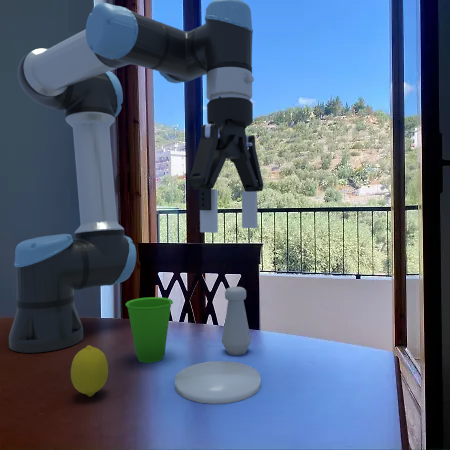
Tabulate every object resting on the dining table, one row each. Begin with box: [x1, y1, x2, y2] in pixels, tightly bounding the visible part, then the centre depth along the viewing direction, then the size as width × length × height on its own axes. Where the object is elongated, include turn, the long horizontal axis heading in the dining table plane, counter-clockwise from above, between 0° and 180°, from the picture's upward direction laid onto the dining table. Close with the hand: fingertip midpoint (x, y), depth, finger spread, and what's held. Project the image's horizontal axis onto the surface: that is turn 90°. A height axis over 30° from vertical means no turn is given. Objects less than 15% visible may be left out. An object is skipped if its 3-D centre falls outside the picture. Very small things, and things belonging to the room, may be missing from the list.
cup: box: [125, 296, 174, 364], centre depth 81 cm, size 9×9×11 cm
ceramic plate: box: [174, 360, 262, 405], centre depth 69 cm, size 14×14×1 cm
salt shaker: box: [221, 286, 252, 356], centre depth 83 cm, size 6×6×13 cm
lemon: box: [70, 345, 109, 397], centre depth 65 cm, size 6×6×8 cm
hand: (231, 230), depth 69 cm, fingers open, 13 cm apart
